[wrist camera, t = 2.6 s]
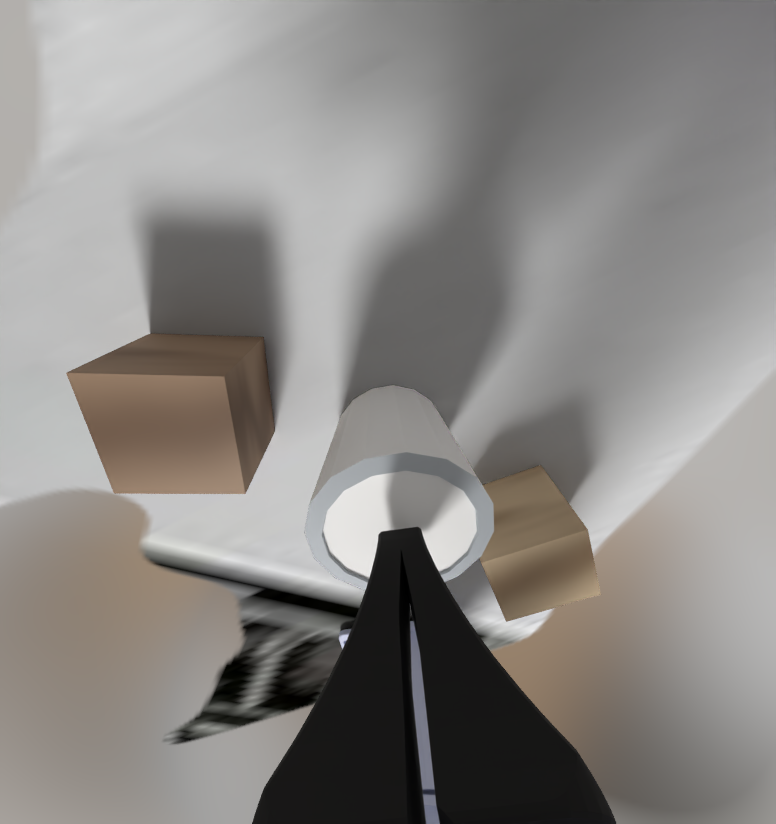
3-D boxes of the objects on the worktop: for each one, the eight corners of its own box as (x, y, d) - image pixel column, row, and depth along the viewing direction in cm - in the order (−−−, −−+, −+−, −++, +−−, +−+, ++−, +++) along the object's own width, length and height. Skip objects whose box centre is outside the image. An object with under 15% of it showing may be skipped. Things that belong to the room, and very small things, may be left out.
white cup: (355, 351, 17) (346, 424, 10) (478, 403, 18) (535, 493, 12) (307, 462, 19) (278, 571, 13) (418, 498, 21) (439, 612, 15)
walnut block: (275, 430, 18) (245, 493, 14) (176, 429, 18) (114, 493, 14) (264, 336, 16) (224, 376, 12) (151, 333, 16) (66, 372, 11)
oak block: (555, 522, 22) (600, 594, 18) (480, 546, 23) (506, 621, 19) (539, 464, 20) (587, 529, 16) (457, 492, 21) (481, 563, 17)
